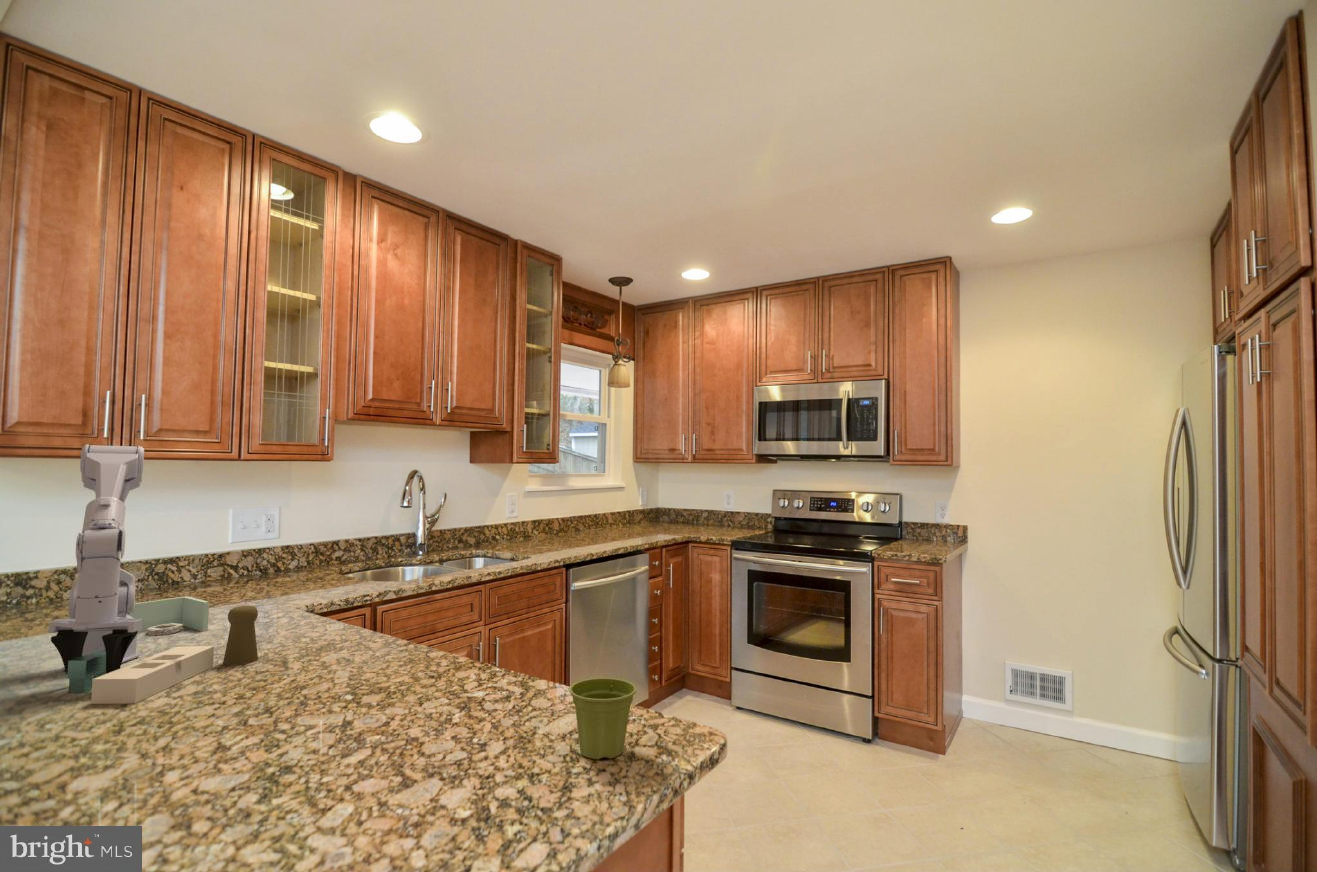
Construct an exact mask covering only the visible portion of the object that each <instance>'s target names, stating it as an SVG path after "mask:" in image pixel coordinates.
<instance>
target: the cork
mask: <svg viewBox="0 0 1317 872" xmlns="http://www.w3.org/2000/svg"><path fill="white" fill-rule="evenodd" d="M258 615H259V611H258V608H257V607H256V606H253V605H239V606H235V607H233V608H231V609H230V610H229V611H228V614H227V620H228V622H229V625H230V626H229V627H230V628H229V631H228V637H227V641H226V646H225V651H224V657H223V661H222V664H223V665H225V666H240V665H246V664H252V663H253V662H254V663H255V662H256V661H258V660H259V655H258V646H257V645H258V644H257V635H256V627H255V626H256V625H255V624H256V623H255V621H256V620H257V619H258Z"/></svg>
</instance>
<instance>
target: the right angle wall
mask: <svg viewBox="0 0 1317 872" xmlns="http://www.w3.org/2000/svg"><path fill="white" fill-rule="evenodd" d="M209 614H210V601H207V600H203V599H199V598H196V597H191V596H188V595H186V596H180V597H178V596H177V597H173V598H171V597H170V598H165V599H158V600H151V601H143V602H135V606H134V612H132V613H131V614H130V615H129V616H131V617H133V618H134V619H142V629H141V630H139V631H138V634H140V633H145V632H146V636H148V637H153V636H158V637H159V636H169V635H174V634H176V633H178V632H181V631H182V630H183V629H184V627H186V628H188V629H193V630H195V631H200V632H208V631H209V616H210V615H209Z"/></svg>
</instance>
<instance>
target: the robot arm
mask: <svg viewBox="0 0 1317 872" xmlns="http://www.w3.org/2000/svg"><path fill="white" fill-rule="evenodd" d="M144 462H145V448H144V447H142V445H138V446H137V445H136V446H129V445H128V446H127V445H124V446H123V445H93V444H91V445H90V444H89V443H87V444H85V445H84V446H83V447H81V452H80V464H79V465H80V466H79V467H80V473H81V474H80V475H81V482H82V483H83V487H84V488H86V489H88V490H91V491H93V492H94V493H95V498H94V499H91V501H90V502H88V503H87V504H86V506H85V510H84V511H85V512H84V518H83V525H82V530H81V532H78V534H77V536H76V541H75V542H76V543H75V558H76V572H78V575H77V577H76V578H75V579H74V581H73V582H72V583H71V591H70V593H69V600H68V618H65V619H63V618H62V619H60V618H59V619H55V620H51V621H49V622H48V633H49V634H50V633H51V634H52V633H53V634H54V633H56V635H52V636H51V637H50V642H51V643H52V644H53V646H54V647H55V648H56V650H57V651H58V654H59V655H60V658H61V661H62V663H63V667H61V671H65V675H67V674H68V661H69V660H72V659H75V658H78V657H81V656H84V655H87V654H90V653H93V652H96V651H99V650H105V651H106V673H110V672H113V671H115V670H118V669H120V668H121V666H122V664H123V663H126V662H128V661H132V660H134V659H136V658H139V657H140V656H141V654H140V653H137V640H138V639H137V638H138V634H139V633H138V631H139V630H141V629H142V619H134V618H133V617H131V616H129V615H130V614H131V613H132V612H134V606H135V603H136V587H137V586H136V578H135V575H134V574H132V573H131V572H129V571H126V570H124V569H122V568H121V563H122V562H121V560H123V557H124V555H125V548H126V530H125V517H126V505H125V502H126V500H127V497H128V495H129V493H130V491H132V490H135V489H137V488H140V487H141V483H142V481H143V473H144V465H145V463H144Z"/></svg>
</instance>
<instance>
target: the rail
mask: <svg viewBox="0 0 1317 872" xmlns="http://www.w3.org/2000/svg"><path fill="white" fill-rule="evenodd" d="M214 651H215V646H214V645H211V646H210V645H208V646H207V645H206V646H205V645H203V646H201V645H199V646H198V645H197V646H196V645H194V646H187V645H186V646H175V647H172V648H170V649H168V650H164V651H162V652H160V653H157V654H154V655H152V656H149V657H147V658H144V659H142V660H139V661H137V662H134V663H131V664H128V665H126V666H123V667H120V669H118V670H115V671H113V672H110V673H107V674H105V675H102V676H100V677H97V678H94V679H92V690H91V700H90V703H91V704H90V705H103V704H104V705H106V704H107V705H110V704H112V705H113V704H114V705H115V704H117V705H118V704H121V705H122V704H124V705H125V704H138V703H139V702H141V701H143V700H146V699H148V698H149V697H151V696H154V695H157V694H159V693H160V692H163V691H165V690H167V689H169V688H171V687H174V686H175V685H177V684H179V683H182V682H184V681H185V680H188V679H190V678H192V677H194V676H196V675H197V676H198V674H201V673H203V672H206V671H207V670H209V669H212V668H213V667H214V653H215V652H214Z"/></svg>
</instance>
